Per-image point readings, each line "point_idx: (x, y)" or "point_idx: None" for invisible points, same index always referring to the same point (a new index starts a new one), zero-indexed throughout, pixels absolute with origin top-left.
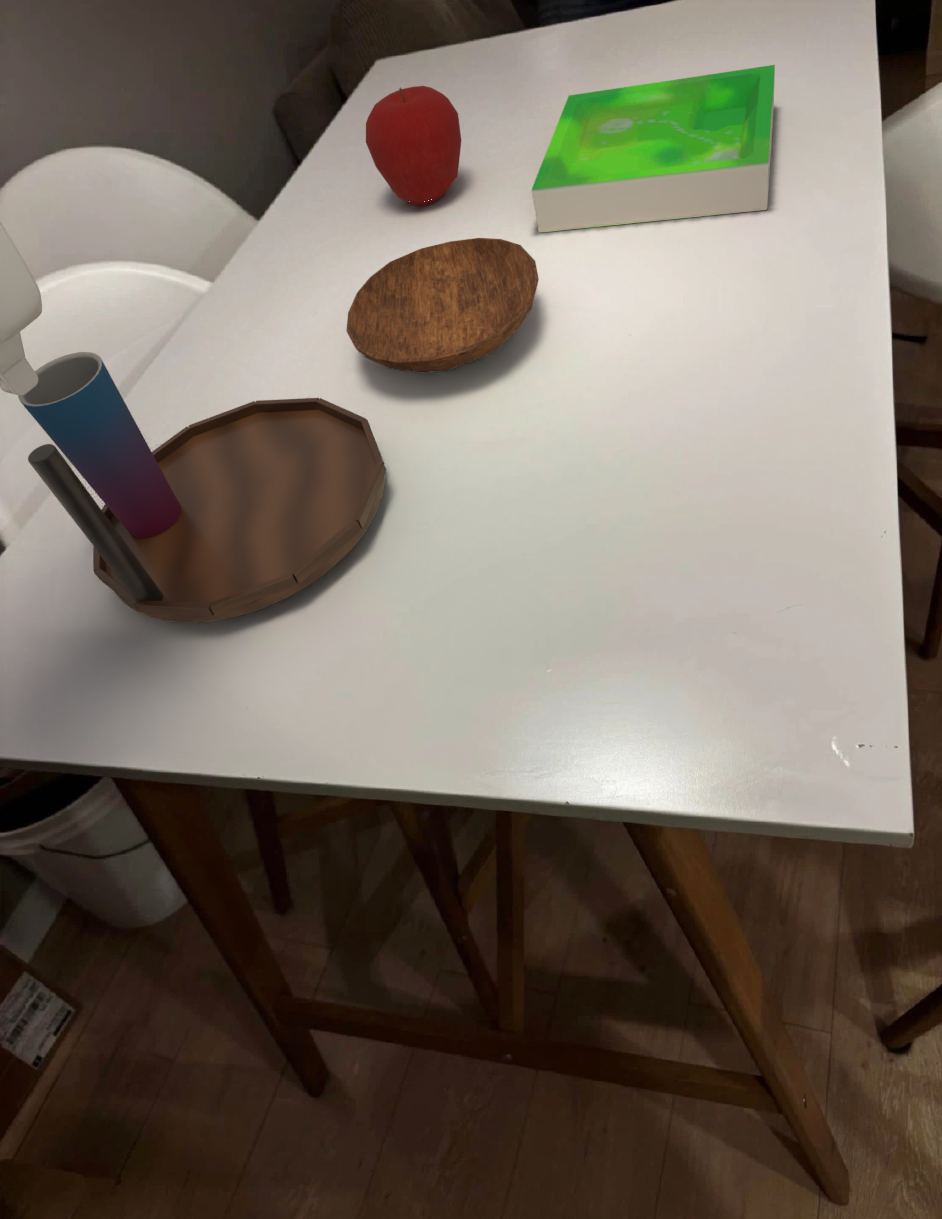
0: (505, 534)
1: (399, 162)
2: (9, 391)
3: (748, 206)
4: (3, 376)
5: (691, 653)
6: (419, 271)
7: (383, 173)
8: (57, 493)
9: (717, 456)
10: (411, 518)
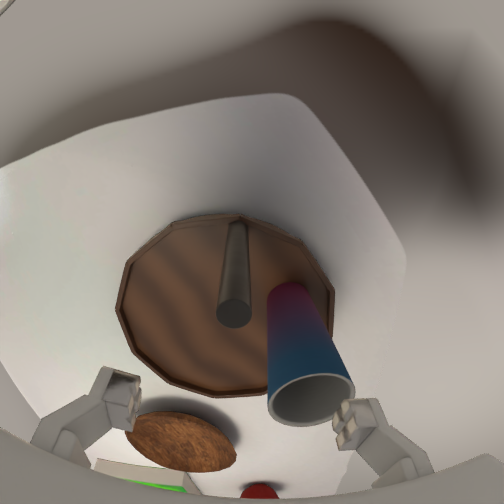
0: (66, 310)
1: None
2: (115, 372)
3: (102, 461)
4: (90, 391)
5: None
6: (216, 461)
7: (272, 497)
8: (232, 275)
9: (25, 351)
10: (118, 320)
